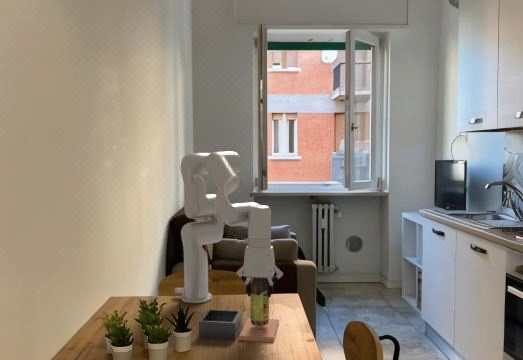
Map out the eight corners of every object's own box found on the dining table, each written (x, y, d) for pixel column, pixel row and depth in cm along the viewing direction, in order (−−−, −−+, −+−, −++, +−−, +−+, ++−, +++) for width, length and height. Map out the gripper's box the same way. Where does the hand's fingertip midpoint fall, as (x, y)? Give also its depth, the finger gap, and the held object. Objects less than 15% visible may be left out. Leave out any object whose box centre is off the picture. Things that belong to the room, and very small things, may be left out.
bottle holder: (198, 337, 155) (198, 321, 155) (208, 324, 167) (208, 309, 167) (235, 339, 154) (234, 323, 153) (241, 326, 165) (241, 310, 165)
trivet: (239, 340, 153) (239, 335, 153) (248, 322, 169) (248, 318, 169) (273, 342, 152) (273, 337, 152) (279, 323, 168) (279, 319, 167)
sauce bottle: (267, 327, 157) (266, 268, 155) (248, 326, 158) (248, 267, 156) (270, 320, 163) (270, 263, 162) (252, 319, 164) (252, 262, 163)
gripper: (231, 244, 156) (232, 298, 157) (284, 245, 153) (284, 300, 155) (236, 239, 163) (236, 291, 165) (286, 241, 161) (286, 293, 162)
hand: (259, 295), depth 160 cm, fingers closed on sauce bottle, 6 cm apart
